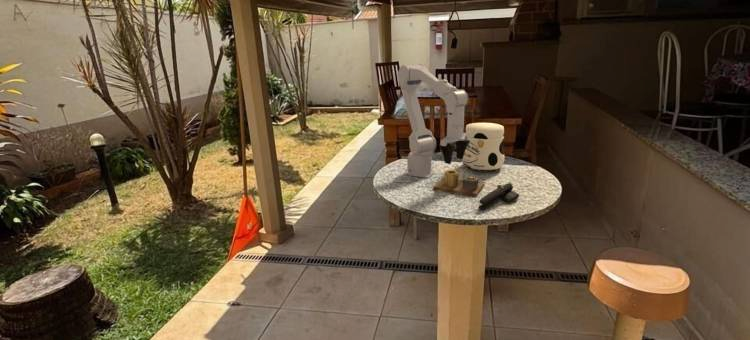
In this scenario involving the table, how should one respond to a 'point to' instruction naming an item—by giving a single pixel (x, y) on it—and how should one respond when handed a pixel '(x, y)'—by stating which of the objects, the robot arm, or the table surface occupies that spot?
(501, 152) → the milk container
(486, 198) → the can opener
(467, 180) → the gear board
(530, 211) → the table surface
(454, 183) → the brass gear
